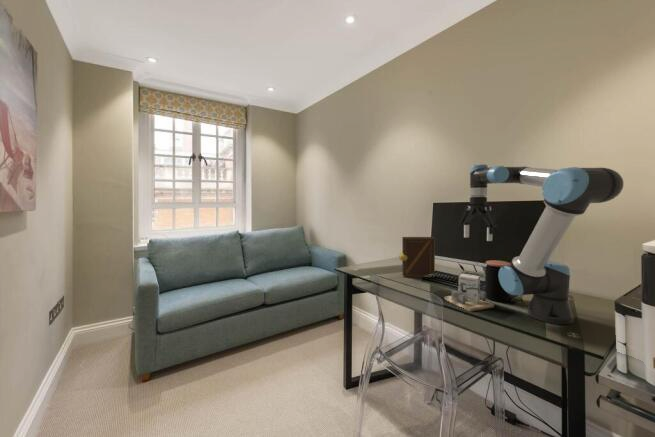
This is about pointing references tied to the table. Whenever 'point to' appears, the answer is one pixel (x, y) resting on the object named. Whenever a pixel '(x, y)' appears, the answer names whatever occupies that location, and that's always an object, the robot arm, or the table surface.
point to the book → (417, 256)
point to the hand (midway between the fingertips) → (477, 239)
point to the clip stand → (460, 301)
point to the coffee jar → (495, 281)
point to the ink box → (469, 287)
